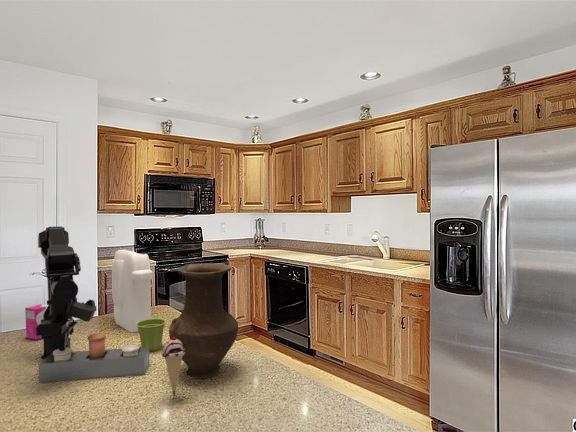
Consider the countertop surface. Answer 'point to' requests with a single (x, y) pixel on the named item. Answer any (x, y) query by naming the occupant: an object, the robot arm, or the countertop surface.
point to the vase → (204, 320)
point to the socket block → (93, 365)
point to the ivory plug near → (62, 354)
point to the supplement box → (34, 320)
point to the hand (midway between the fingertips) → (62, 350)
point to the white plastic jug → (131, 289)
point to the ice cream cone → (173, 359)
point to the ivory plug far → (130, 350)
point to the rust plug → (97, 345)
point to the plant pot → (151, 333)
